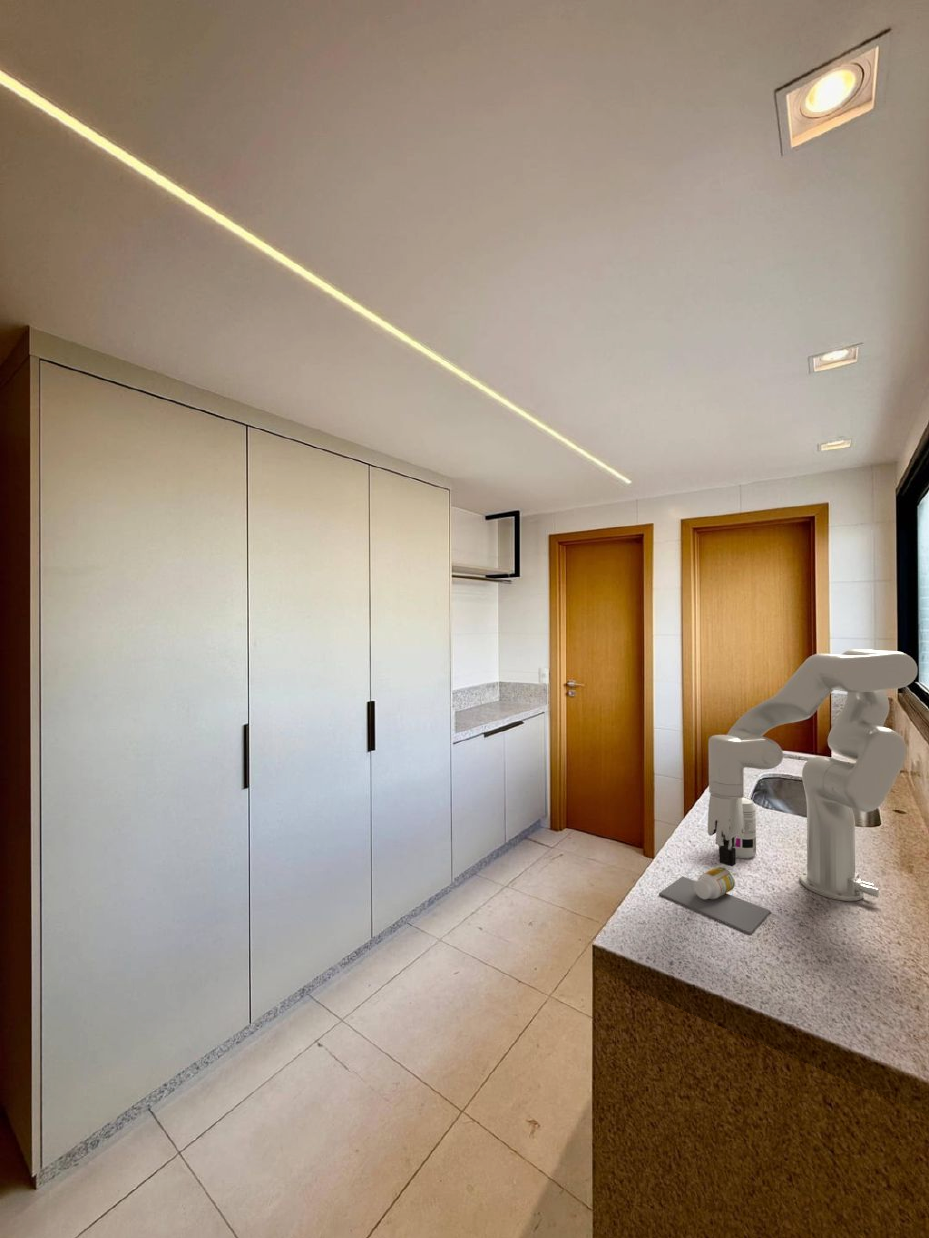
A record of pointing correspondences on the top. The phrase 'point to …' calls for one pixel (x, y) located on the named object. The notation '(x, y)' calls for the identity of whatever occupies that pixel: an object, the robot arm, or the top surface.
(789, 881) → the top surface
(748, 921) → the mat
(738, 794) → the robot arm
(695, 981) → the top surface
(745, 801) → the supplement can
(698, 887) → the supplement bottle
